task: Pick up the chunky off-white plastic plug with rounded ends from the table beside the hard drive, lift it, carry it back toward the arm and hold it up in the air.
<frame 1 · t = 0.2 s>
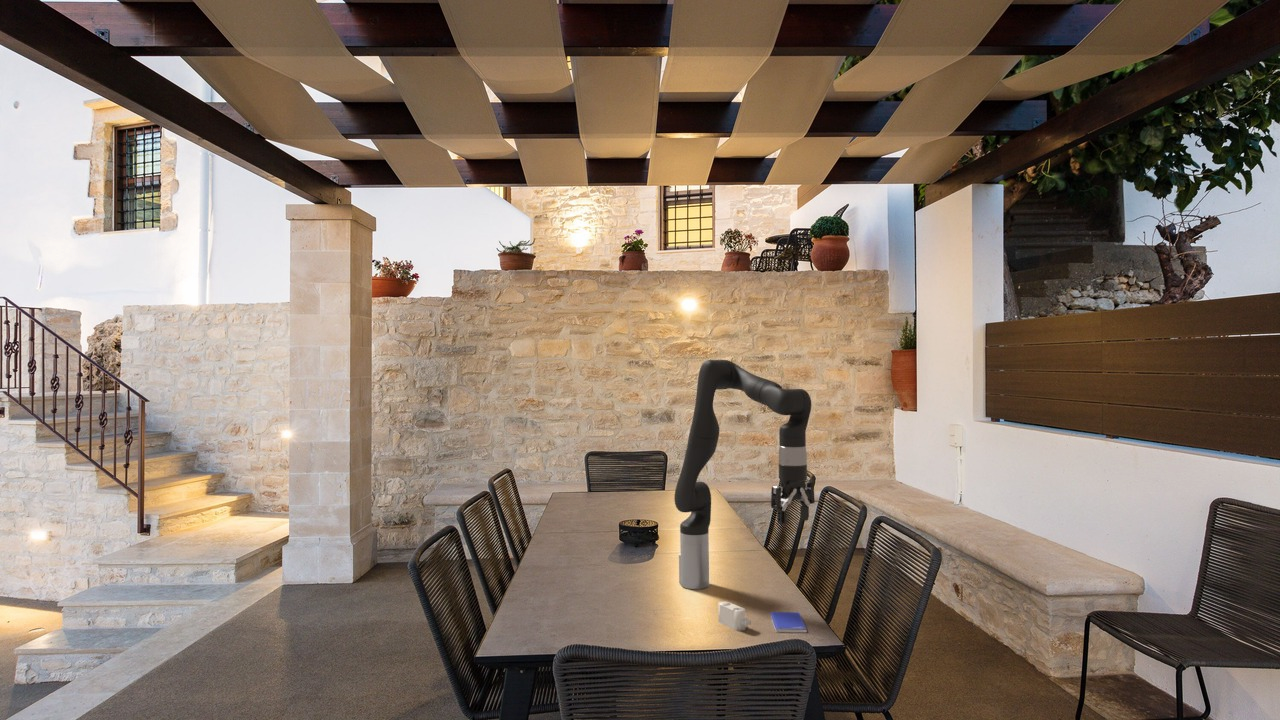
hand: (793, 522, 188), 28 cm above the table, tool pointing down, fingers open, 8 cm apart
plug: (732, 624, 190), on the table
hard drive: (788, 626, 191), on the table
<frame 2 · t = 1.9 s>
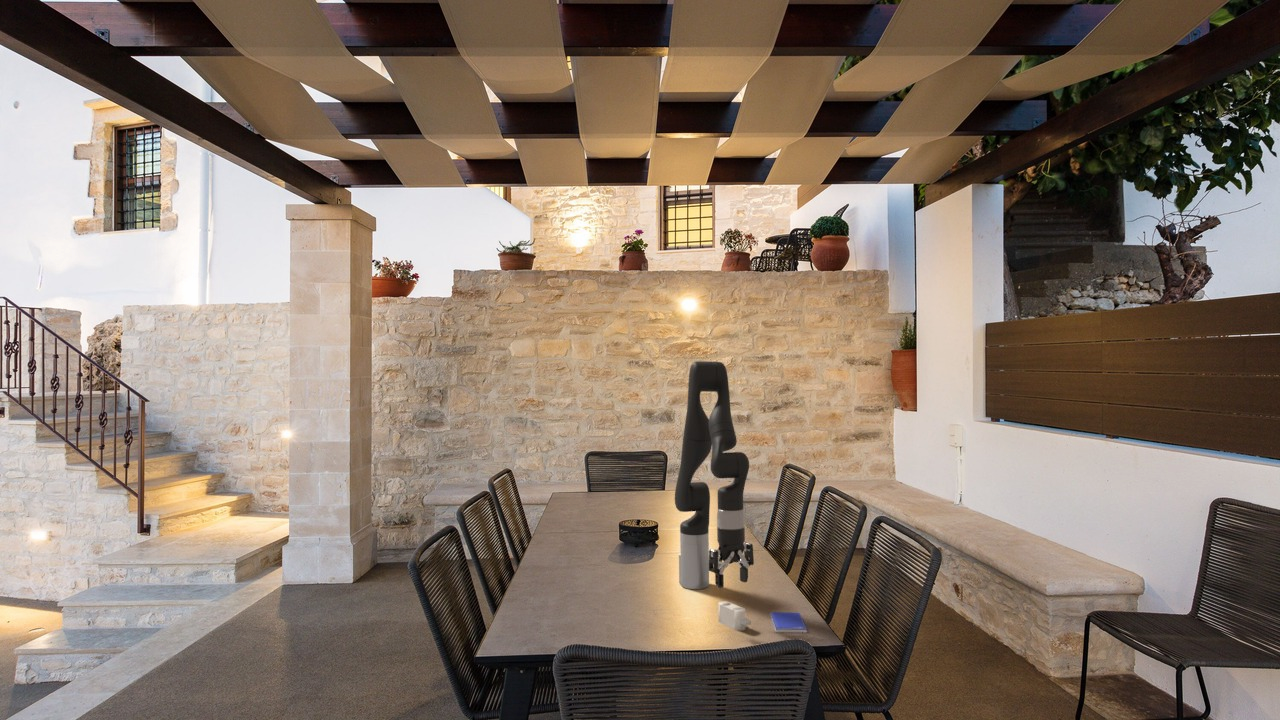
hand: (731, 584, 190), 11 cm above the table, tool pointing down, fingers open, 8 cm apart
nothing on the table moved.
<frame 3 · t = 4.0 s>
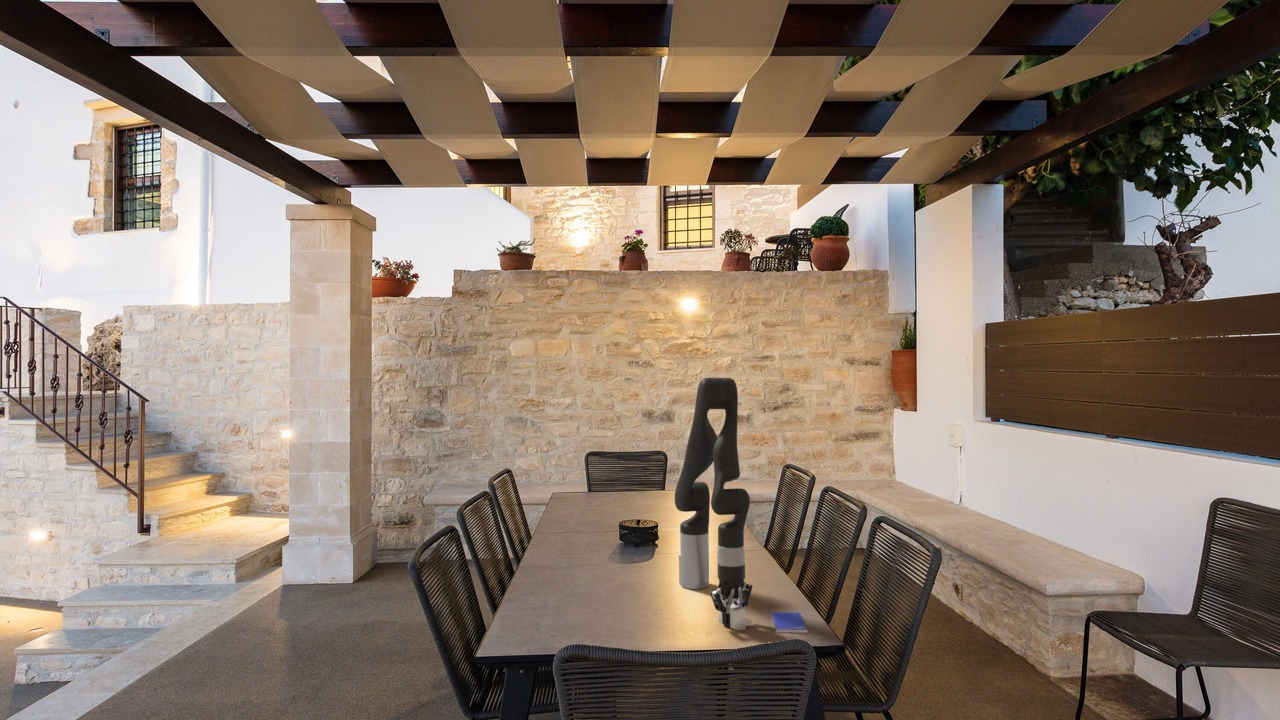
hand: (732, 624, 190), 0 cm above the table, tool pointing down, fingers closed on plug, 3 cm apart
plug: (732, 624, 190), on the table, touching gripper
everything else where it was.
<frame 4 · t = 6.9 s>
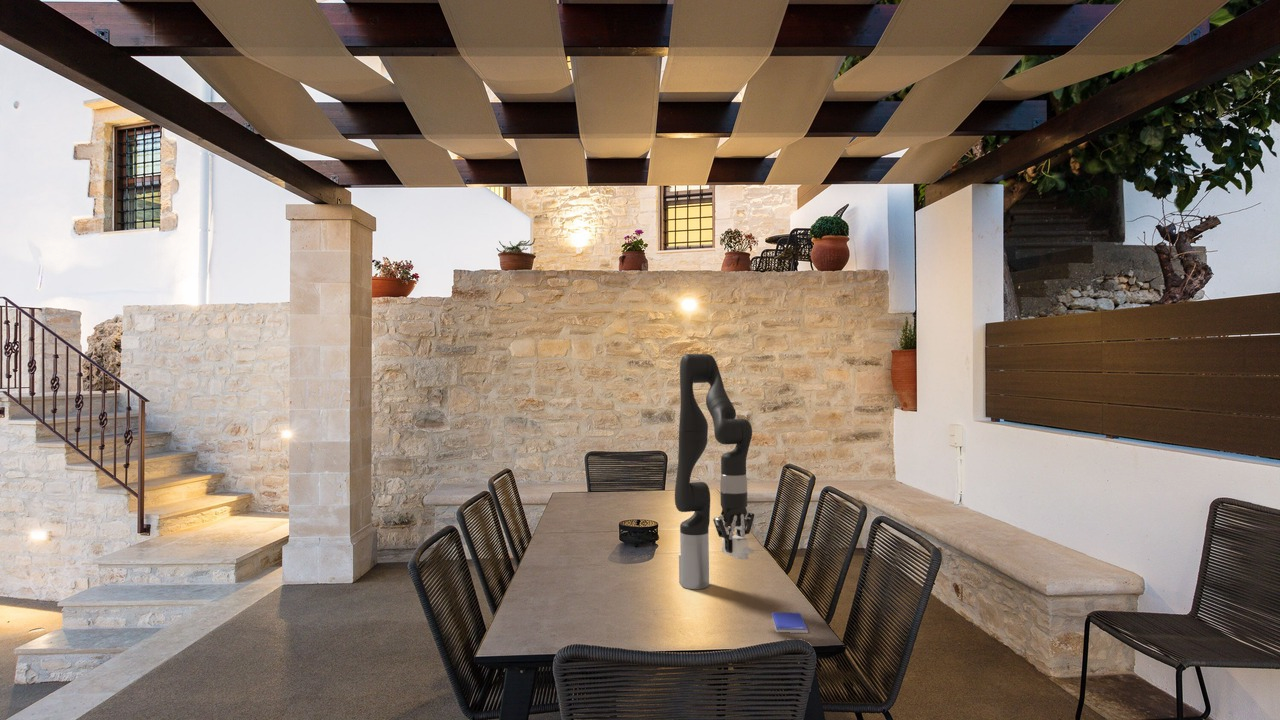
hand: (734, 550, 195), 19 cm above the table, tool pointing down, fingers closed on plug, 3 cm apart
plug: (734, 554, 195), point 18 cm above the table, touching gripper
everything else where it was.
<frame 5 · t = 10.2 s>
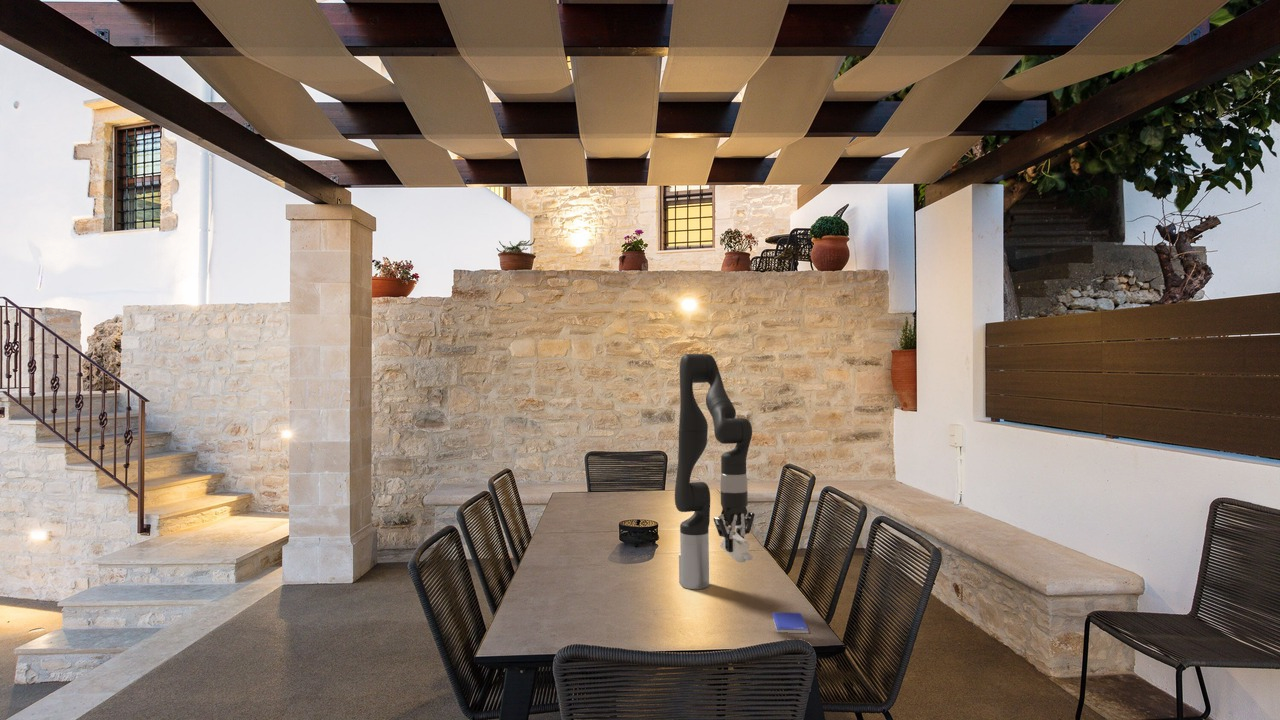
hand: (734, 550, 195), 19 cm above the table, tool pointing down, fingers closed on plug, 3 cm apart
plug: (732, 552, 196), point 18 cm above the table, tilted 20°, touching gripper
everything else where it was.
at the end: the gripper is holding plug; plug point 18.2 cm above the table; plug touching gripper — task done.
